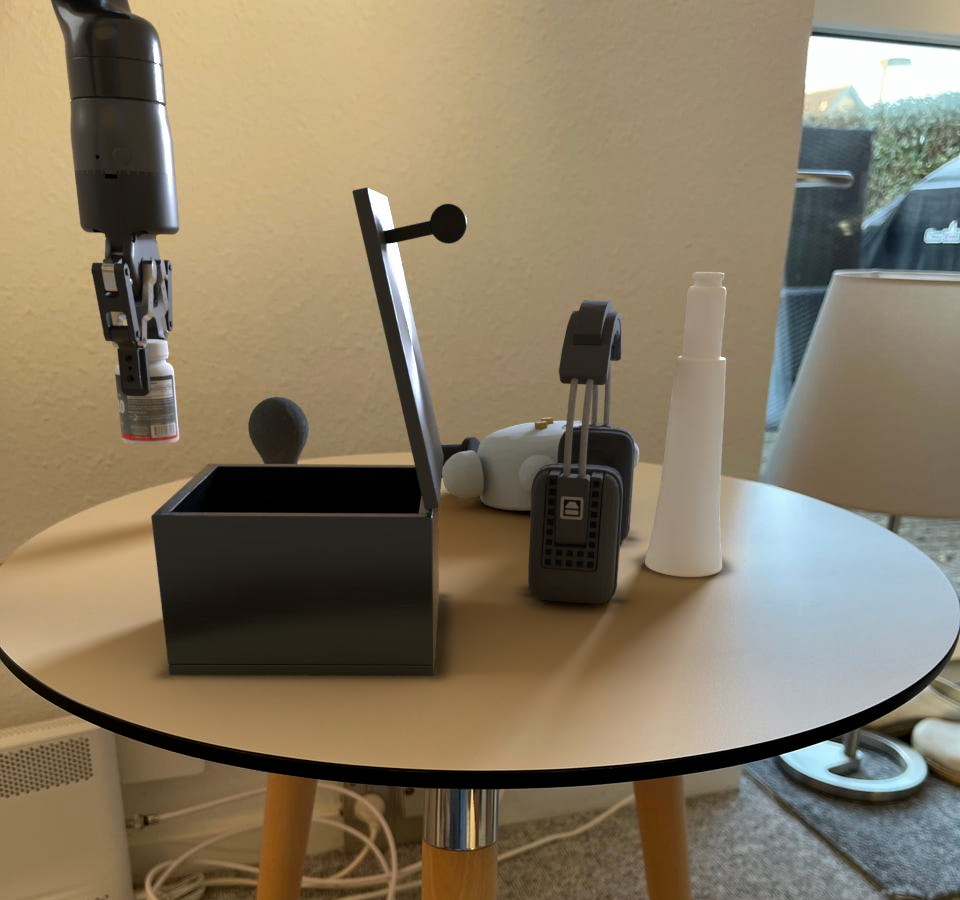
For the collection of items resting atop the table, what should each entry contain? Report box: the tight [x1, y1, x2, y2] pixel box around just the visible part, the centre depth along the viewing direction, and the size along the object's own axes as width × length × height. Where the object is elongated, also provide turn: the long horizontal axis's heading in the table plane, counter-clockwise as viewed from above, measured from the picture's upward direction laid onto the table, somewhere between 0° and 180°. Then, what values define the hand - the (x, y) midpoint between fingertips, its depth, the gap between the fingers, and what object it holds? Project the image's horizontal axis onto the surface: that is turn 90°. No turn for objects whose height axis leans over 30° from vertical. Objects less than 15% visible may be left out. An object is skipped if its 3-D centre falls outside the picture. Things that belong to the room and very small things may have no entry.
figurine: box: [441, 416, 640, 512], centre depth 99 cm, size 17×8×20 cm
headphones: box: [527, 300, 635, 605], centre depth 77 cm, size 22×6×20 cm, turn 169°
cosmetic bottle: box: [644, 271, 728, 578], centre depth 77 cm, size 6×6×22 cm
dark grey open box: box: [150, 463, 440, 677], centre depth 65 cm, size 16×14×10 cm
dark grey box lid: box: [352, 186, 468, 510], centre depth 59 cm, size 17×14×5 cm
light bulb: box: [247, 396, 310, 464], centre depth 97 cm, size 6×6×10 cm
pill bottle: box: [114, 339, 180, 447], centre depth 86 cm, size 5×5×8 cm
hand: (146, 389), depth 86 cm, fingers closed on pill bottle, 4 cm apart
